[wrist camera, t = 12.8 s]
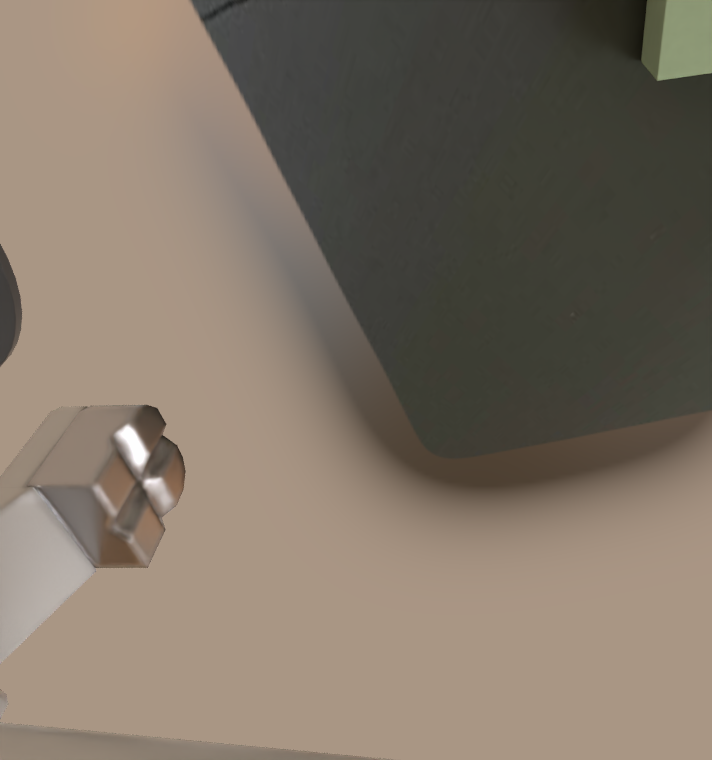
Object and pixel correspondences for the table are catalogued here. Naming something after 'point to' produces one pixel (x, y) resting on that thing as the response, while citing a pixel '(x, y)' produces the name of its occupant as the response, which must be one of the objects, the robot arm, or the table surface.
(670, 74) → the sage block
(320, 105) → the table surface
